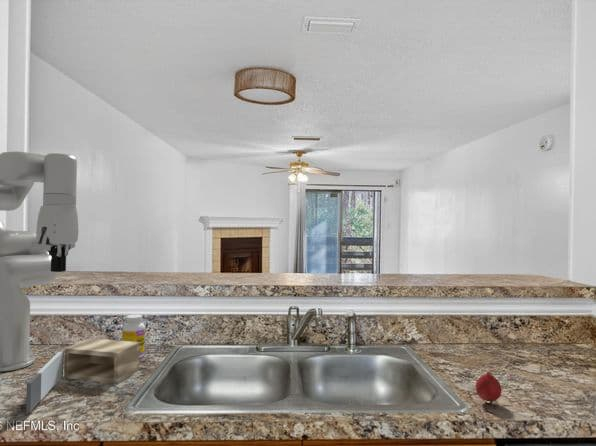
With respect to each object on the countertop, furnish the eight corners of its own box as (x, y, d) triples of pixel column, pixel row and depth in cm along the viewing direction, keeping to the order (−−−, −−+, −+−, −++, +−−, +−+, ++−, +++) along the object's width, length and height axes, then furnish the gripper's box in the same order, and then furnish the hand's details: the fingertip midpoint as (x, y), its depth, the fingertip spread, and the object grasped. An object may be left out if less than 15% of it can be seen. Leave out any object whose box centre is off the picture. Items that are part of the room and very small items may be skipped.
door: (58, 374, 111) (59, 350, 111) (63, 374, 112) (64, 350, 112) (25, 413, 89) (25, 383, 89) (31, 412, 90) (32, 382, 90)
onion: (471, 397, 105) (472, 366, 105) (494, 398, 105) (495, 367, 105) (480, 408, 100) (481, 374, 100) (505, 409, 99) (506, 375, 99)
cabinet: (63, 377, 112) (64, 348, 112) (88, 365, 122) (89, 338, 121) (117, 383, 109) (118, 353, 109) (138, 370, 119) (139, 342, 119)
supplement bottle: (136, 361, 126) (137, 319, 126) (117, 359, 127) (118, 317, 127) (148, 354, 133) (149, 314, 133) (130, 352, 134) (130, 313, 134)
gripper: (67, 202, 117) (66, 267, 117) (23, 199, 102) (22, 274, 102) (91, 203, 115) (90, 269, 115) (50, 200, 101) (48, 275, 101)
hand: (58, 271), depth 109 cm, fingers closed
